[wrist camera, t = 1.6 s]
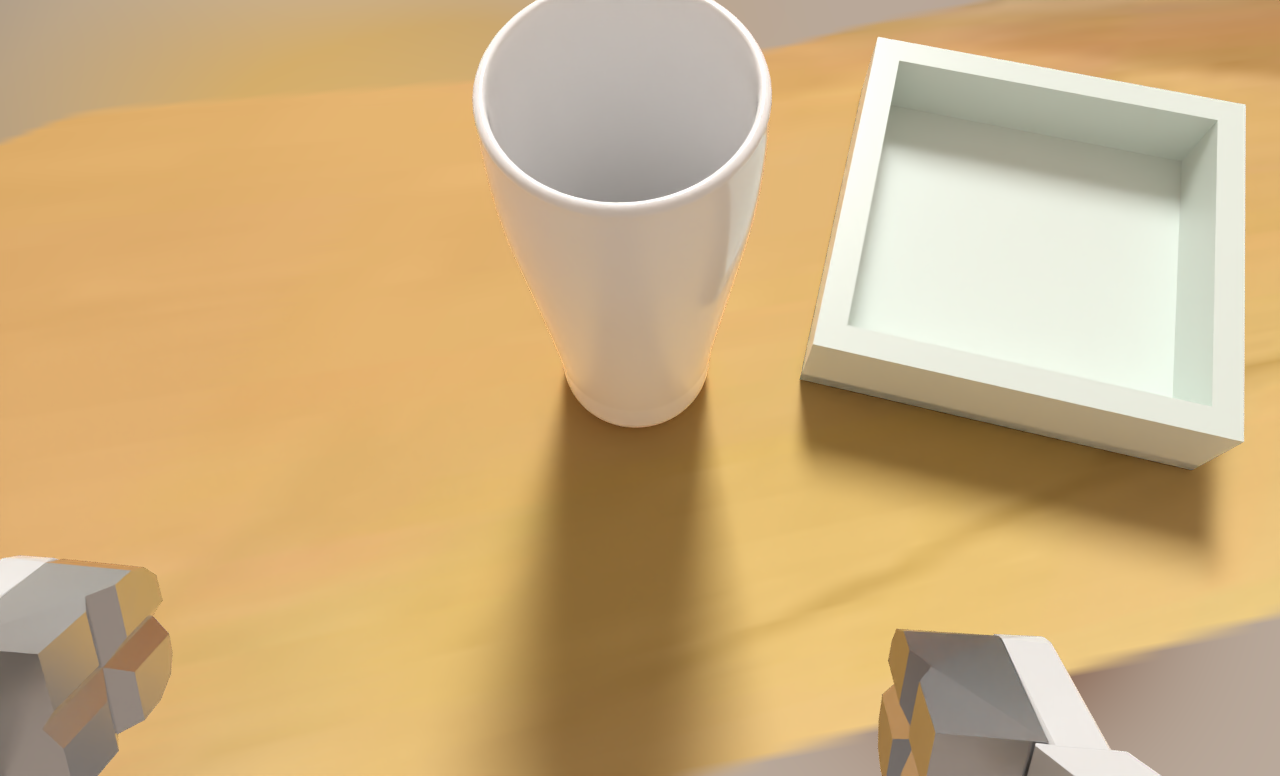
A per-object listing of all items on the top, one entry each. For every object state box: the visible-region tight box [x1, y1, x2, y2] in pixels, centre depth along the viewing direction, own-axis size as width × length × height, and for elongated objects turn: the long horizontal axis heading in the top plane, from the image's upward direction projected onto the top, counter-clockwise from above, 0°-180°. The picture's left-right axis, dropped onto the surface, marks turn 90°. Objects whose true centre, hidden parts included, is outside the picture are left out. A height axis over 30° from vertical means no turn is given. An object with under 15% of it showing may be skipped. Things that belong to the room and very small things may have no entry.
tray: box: [800, 37, 1246, 470], centre depth 33 cm, size 14×14×3 cm
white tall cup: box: [472, 0, 772, 428], centre depth 26 cm, size 7×7×15 cm
